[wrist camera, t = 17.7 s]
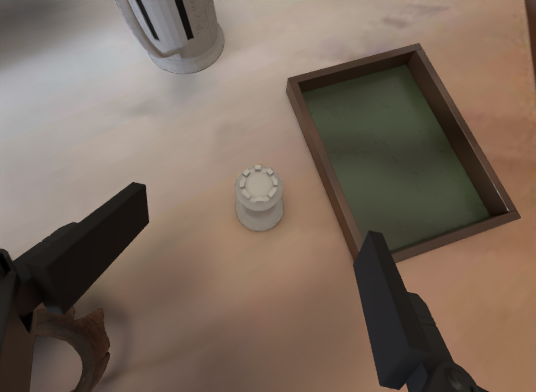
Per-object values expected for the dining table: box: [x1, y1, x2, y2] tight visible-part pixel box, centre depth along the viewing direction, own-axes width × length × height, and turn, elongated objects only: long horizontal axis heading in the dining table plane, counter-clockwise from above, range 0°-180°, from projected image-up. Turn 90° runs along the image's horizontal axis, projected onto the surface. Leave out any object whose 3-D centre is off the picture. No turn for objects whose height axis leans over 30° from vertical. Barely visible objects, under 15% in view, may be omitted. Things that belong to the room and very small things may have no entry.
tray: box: [286, 43, 521, 263], centre depth 25 cm, size 20×15×2 cm
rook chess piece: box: [235, 165, 283, 231], centre depth 21 cm, size 4×4×8 cm
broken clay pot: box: [35, 302, 110, 392], centre depth 19 cm, size 12×10×8 cm
